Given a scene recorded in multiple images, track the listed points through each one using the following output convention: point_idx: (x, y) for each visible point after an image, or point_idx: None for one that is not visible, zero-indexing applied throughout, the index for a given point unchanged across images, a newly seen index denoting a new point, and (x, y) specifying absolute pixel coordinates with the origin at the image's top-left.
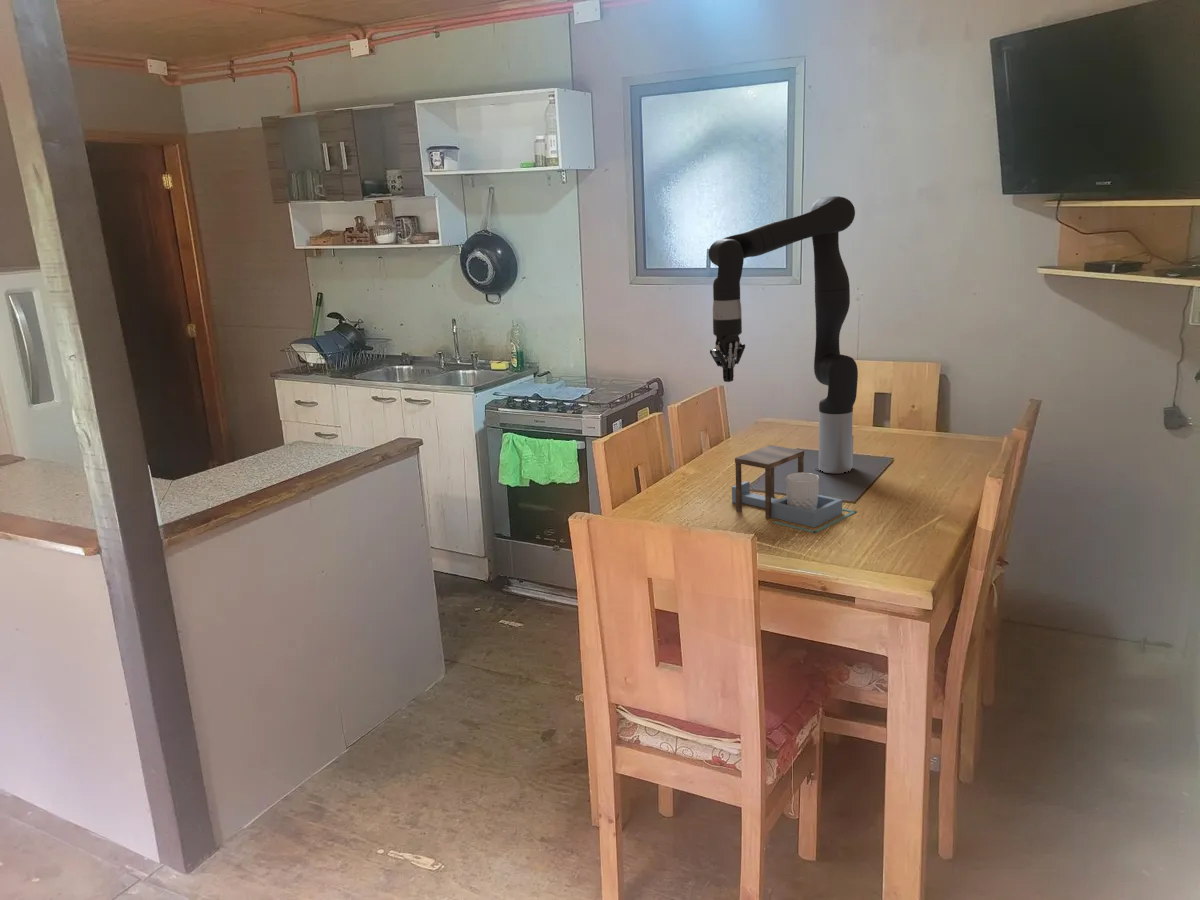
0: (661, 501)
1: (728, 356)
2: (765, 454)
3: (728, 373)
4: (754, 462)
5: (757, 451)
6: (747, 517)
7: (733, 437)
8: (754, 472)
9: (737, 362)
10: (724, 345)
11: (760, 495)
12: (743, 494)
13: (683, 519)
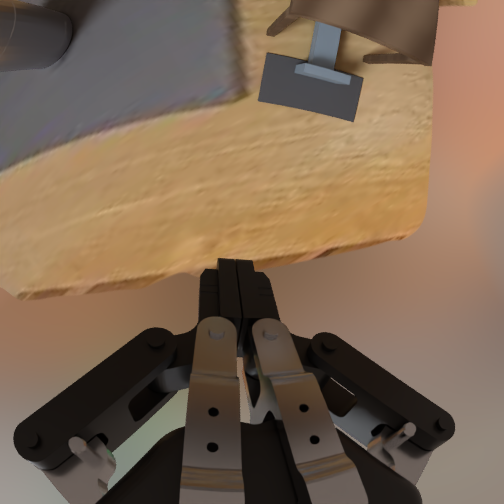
0: (361, 197)
1: (321, 400)
2: (383, 4)
3: (260, 299)
4: (436, 21)
5: (368, 26)
6: None
7: (17, 288)
8: (130, 144)
9: (164, 336)
10: (384, 494)
11: (319, 36)
12: (327, 66)
13: (418, 129)
